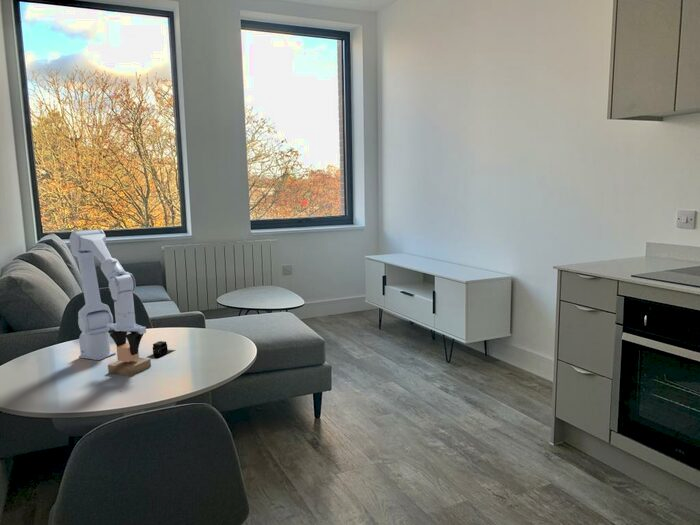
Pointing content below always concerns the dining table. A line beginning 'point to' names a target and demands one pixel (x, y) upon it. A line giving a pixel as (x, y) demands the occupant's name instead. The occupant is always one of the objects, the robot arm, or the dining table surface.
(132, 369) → the walnut slab
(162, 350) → the black slotted bracket
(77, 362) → the dining table surface
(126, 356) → the terracotta cube
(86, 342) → the robot arm
